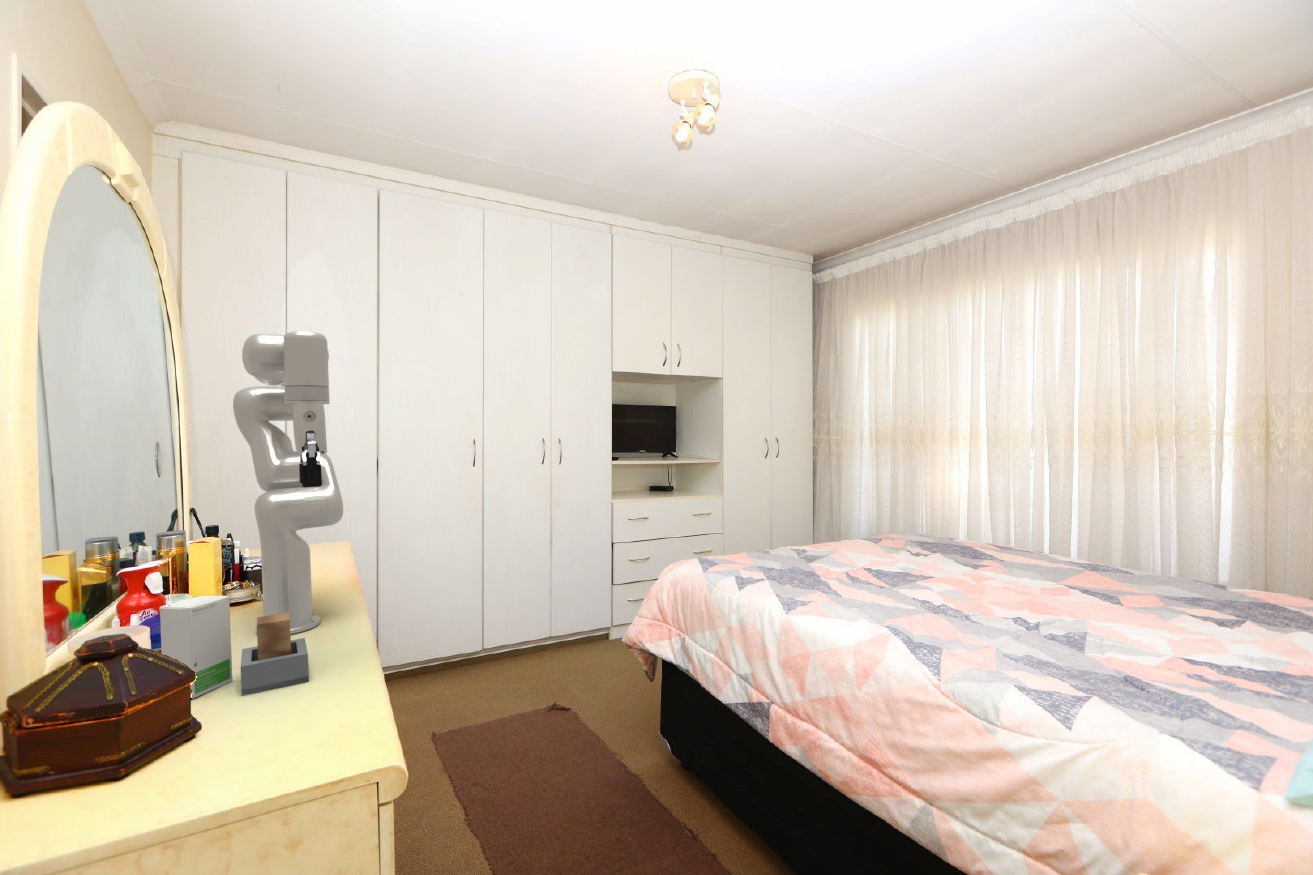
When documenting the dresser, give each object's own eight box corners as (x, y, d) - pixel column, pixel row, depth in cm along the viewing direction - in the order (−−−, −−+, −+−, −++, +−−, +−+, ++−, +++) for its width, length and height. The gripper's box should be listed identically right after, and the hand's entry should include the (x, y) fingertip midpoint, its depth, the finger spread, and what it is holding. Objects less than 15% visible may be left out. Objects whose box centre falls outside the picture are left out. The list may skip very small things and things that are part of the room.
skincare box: (191, 700, 104) (187, 608, 103) (159, 698, 105) (155, 607, 105) (235, 680, 112) (231, 594, 111) (204, 677, 113) (201, 593, 113)
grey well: (243, 675, 114) (242, 648, 113) (305, 663, 119) (304, 637, 119) (241, 695, 105) (240, 666, 105) (308, 681, 110) (307, 653, 110)
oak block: (290, 665, 115) (288, 612, 115) (291, 674, 111) (289, 619, 111) (259, 671, 113) (257, 617, 113) (258, 681, 109) (256, 624, 108)
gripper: (333, 394, 114) (336, 487, 115) (325, 398, 129) (328, 480, 129) (286, 394, 110) (289, 490, 111) (283, 398, 125) (286, 482, 125)
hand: (310, 484), depth 120 cm, fingers open, 9 cm apart
